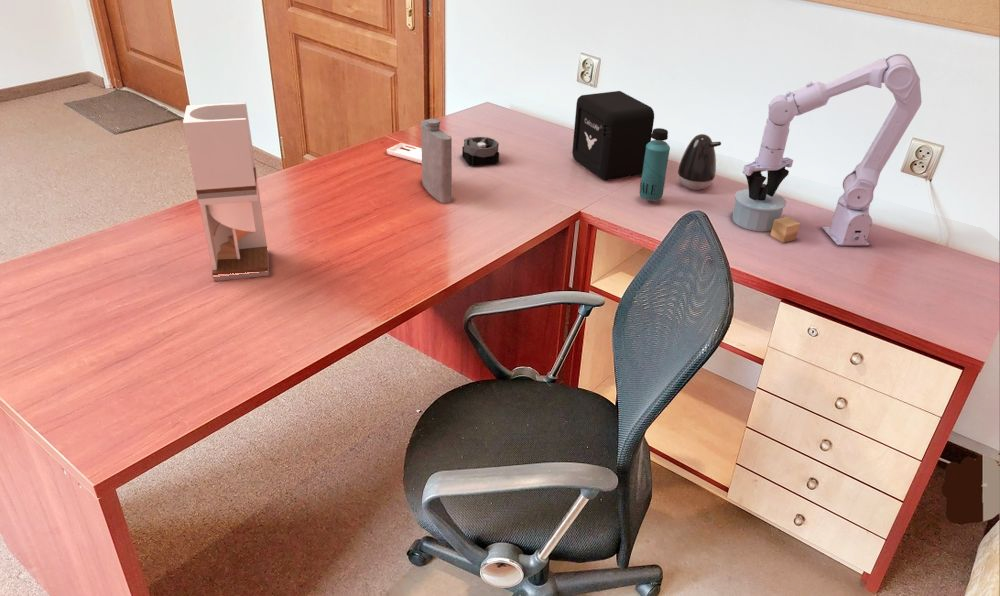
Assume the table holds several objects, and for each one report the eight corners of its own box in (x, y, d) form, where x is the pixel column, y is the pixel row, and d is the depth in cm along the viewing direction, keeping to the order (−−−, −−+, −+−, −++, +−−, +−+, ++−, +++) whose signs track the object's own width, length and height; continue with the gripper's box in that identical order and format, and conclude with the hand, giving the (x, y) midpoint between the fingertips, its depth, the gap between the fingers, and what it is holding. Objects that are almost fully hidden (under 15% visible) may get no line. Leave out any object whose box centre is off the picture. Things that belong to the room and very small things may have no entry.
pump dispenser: (703, 197, 208) (714, 144, 200) (669, 187, 213) (678, 135, 205) (719, 185, 215) (729, 134, 207) (685, 176, 220) (694, 125, 212)
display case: (213, 281, 163) (182, 122, 144) (215, 257, 171) (186, 105, 153) (268, 275, 165) (245, 119, 147) (268, 252, 174) (245, 102, 155)
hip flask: (453, 202, 200) (453, 129, 190) (439, 204, 199) (438, 131, 188) (431, 179, 212) (430, 109, 202) (417, 181, 211) (415, 111, 200)
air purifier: (567, 159, 229) (573, 93, 218) (609, 152, 234) (616, 88, 224) (602, 184, 213) (610, 115, 203) (646, 177, 219) (655, 109, 208)
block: (796, 239, 188) (800, 223, 186) (783, 242, 186) (787, 226, 184) (783, 232, 192) (787, 216, 189) (770, 235, 190) (774, 219, 187)
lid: (795, 210, 190) (800, 193, 188) (752, 215, 187) (756, 198, 184) (766, 190, 200) (770, 173, 198) (724, 195, 197) (728, 178, 194)
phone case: (385, 153, 228) (426, 165, 221) (385, 149, 227) (426, 160, 220) (401, 146, 233) (440, 157, 227) (401, 142, 232) (440, 153, 226)
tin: (787, 228, 193) (793, 207, 190) (748, 233, 190) (753, 212, 187) (761, 209, 203) (766, 189, 200) (723, 214, 199) (727, 193, 196)
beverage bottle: (661, 196, 208) (672, 126, 197) (663, 207, 202) (674, 134, 191) (637, 195, 208) (647, 124, 197) (638, 205, 202) (648, 133, 192)
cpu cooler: (502, 146, 220) (468, 149, 217) (501, 165, 223) (468, 168, 220) (492, 134, 228) (459, 137, 226) (491, 152, 231) (459, 155, 229)
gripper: (782, 136, 191) (771, 186, 199) (739, 144, 186) (728, 195, 193) (804, 145, 186) (791, 196, 193) (759, 154, 180) (747, 206, 187)
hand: (761, 196), depth 193 cm, fingers open, 5 cm apart
